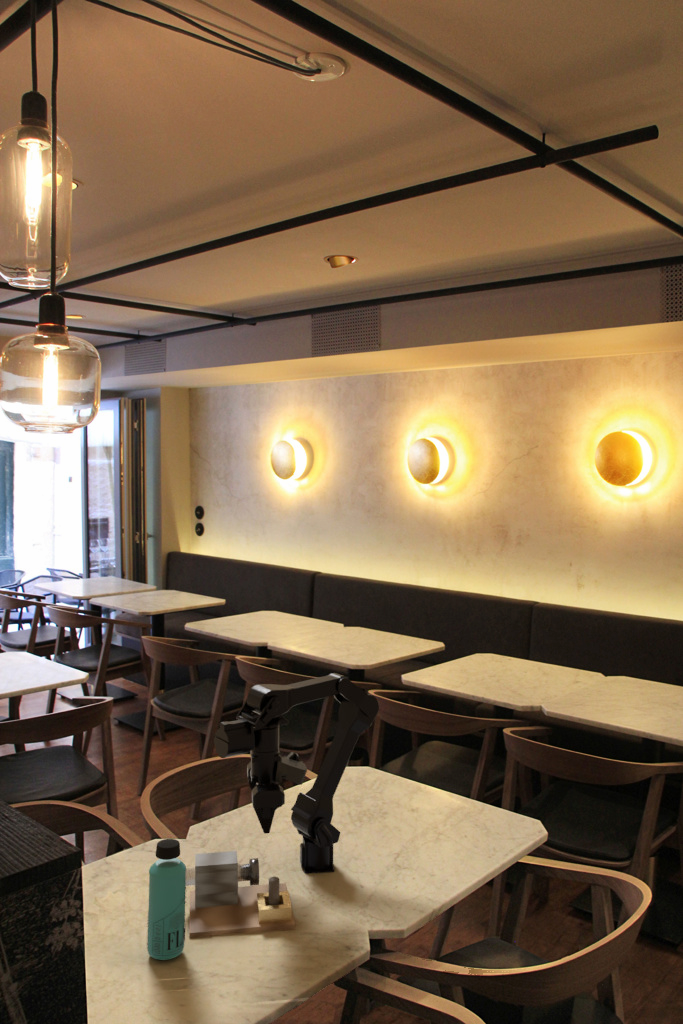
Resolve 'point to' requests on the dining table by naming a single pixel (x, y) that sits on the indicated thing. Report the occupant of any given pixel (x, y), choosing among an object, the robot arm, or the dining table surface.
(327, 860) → the robot arm
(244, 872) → the shaft
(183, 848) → the dining table surface
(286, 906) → the frame
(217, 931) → the shaft stand
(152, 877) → the beverage bottle
